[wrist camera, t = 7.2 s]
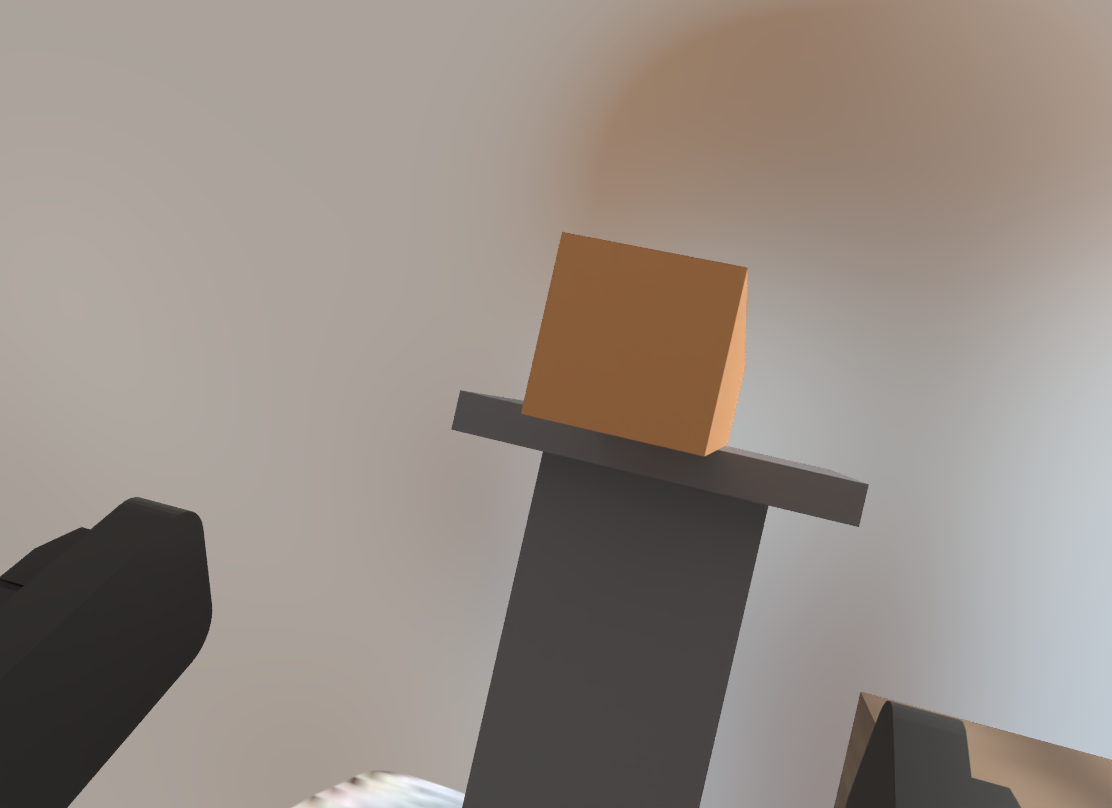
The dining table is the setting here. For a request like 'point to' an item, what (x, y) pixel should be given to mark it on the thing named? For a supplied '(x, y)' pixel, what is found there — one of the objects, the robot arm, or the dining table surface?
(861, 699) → the tan upright box
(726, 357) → the block
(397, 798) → the dining table surface
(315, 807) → the dining table surface
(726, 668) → the tall stand
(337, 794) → the dining table surface
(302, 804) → the dining table surface
